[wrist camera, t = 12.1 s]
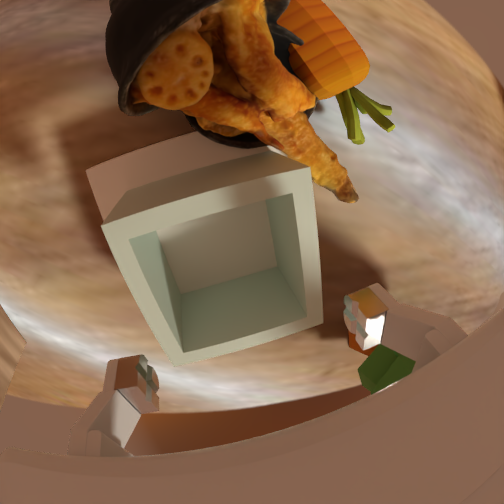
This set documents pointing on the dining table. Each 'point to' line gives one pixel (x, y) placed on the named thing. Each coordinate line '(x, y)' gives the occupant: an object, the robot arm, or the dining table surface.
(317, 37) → the carrot
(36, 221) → the dining table surface
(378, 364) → the decorative tree
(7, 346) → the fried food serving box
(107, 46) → the bowl of food
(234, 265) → the open rectangular box
